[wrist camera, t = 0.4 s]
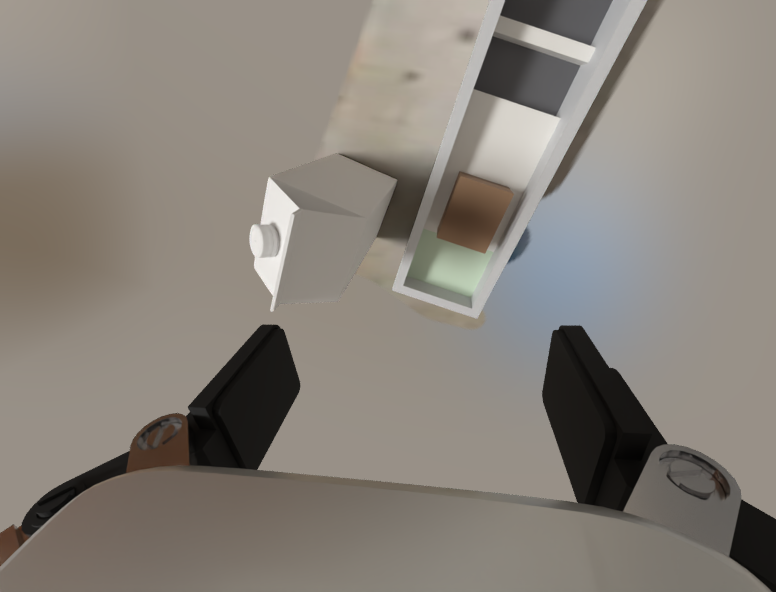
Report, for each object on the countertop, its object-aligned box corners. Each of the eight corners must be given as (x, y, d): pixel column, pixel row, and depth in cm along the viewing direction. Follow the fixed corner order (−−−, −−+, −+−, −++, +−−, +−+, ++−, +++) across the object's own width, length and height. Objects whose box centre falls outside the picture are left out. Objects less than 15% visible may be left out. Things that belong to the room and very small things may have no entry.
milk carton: (398, 179, 34) (352, 239, 18) (376, 238, 38) (321, 332, 21) (336, 152, 34) (231, 187, 17) (320, 214, 37) (220, 291, 21)
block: (459, 170, 31) (460, 176, 28) (508, 187, 31) (514, 193, 28) (437, 228, 34) (436, 237, 31) (482, 243, 34) (485, 254, 31)
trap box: (512, -67, 24) (524, -101, 20) (638, -25, 24) (674, -51, 20) (397, 273, 39) (391, 290, 36) (474, 298, 39) (477, 318, 36)
